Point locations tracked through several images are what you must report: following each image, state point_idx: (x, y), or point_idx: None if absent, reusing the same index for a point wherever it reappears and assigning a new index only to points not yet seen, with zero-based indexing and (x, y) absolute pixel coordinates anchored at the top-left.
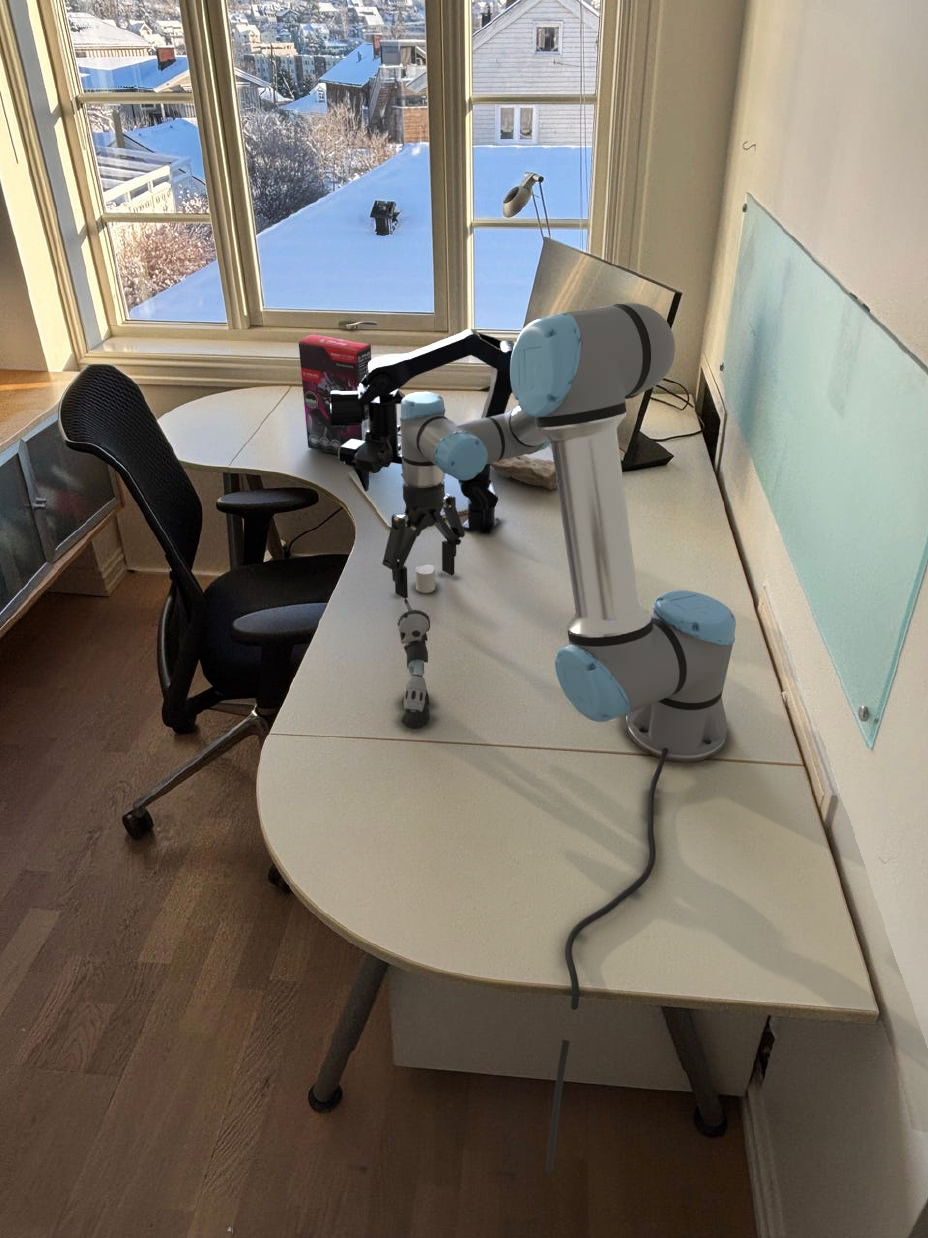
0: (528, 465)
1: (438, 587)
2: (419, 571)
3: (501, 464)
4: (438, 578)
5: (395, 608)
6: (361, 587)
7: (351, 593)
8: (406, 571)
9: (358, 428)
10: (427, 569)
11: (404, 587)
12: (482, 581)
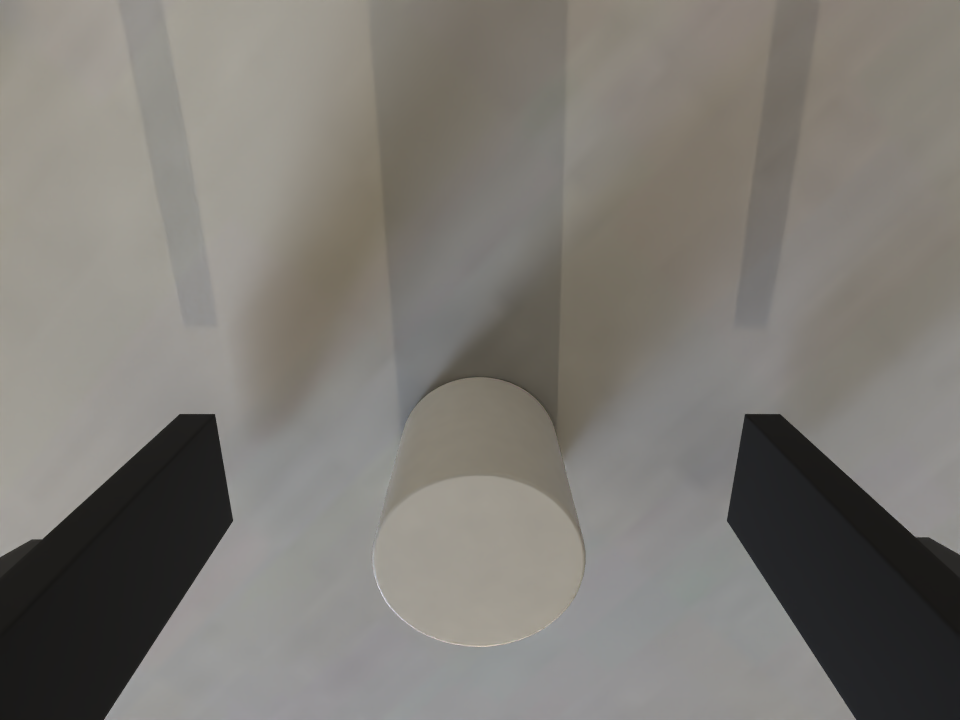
0: None
1: (394, 386)
2: (558, 572)
3: None
4: (305, 478)
5: (866, 391)
6: (783, 713)
7: None
8: (952, 613)
9: None
10: (463, 549)
11: (846, 476)
12: (4, 191)
